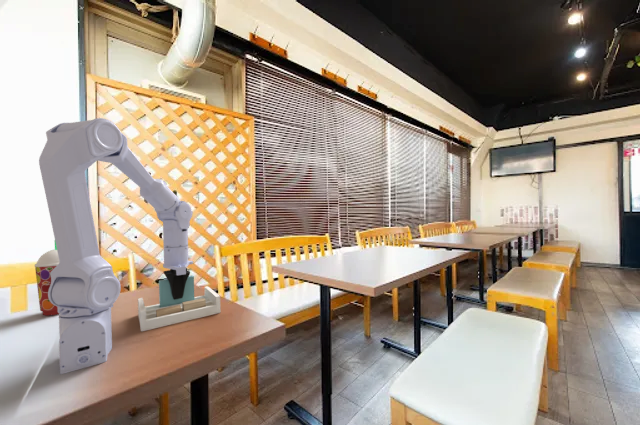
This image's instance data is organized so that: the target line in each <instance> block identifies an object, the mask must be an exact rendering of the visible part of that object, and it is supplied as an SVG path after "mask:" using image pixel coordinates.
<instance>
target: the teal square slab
mask: <svg viewBox="0 0 640 425" xmlns="http://www.w3.org/2000/svg"><path fill="white" fill-rule="evenodd" d="M158 294H159V295H158V296H159V300H158V301H159V303H158V304H160V308H161V307H166V306H171V305H176V304H181V303H182V302H187V301H192V300H194V297H195V276H194V275H189V277H188V279H187V281H186V284H185V289H184V294H183V298H180V299H175V300H174V299H173V296H172V292H171V287H170V283H169V281H168V279H167V278H165V279H159V281H158Z"/></svg>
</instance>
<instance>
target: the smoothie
mask: <svg viewBox="0 0 640 425" xmlns="http://www.w3.org/2000/svg"><path fill="white" fill-rule="evenodd" d="M59 263H60V261H59V256H58V252H57V247H56V242H55V241H54V249H52V250H48V251H46V252H44V253H43V254H42V255H40V257H39V258H38V260H37V261H36V263H35V264H34V268H35V277H36V286H37V293H38V294H37V295H38V303H39V310H40V312H42V315H43V316H49V317H50V316H59V313H58V307H57V306H55V305H53V304H52V303H51V302H50V300H49V298H48V290H49V288H50V285H51V275H50V272H51V271H52V270H53V269H54V268H55V267H56V266H57V265H58V264H59Z"/></svg>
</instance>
